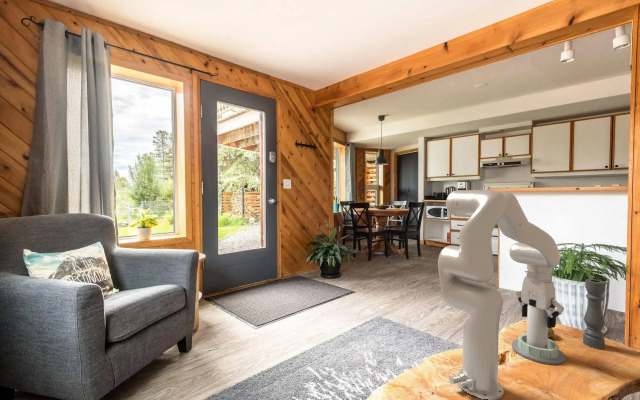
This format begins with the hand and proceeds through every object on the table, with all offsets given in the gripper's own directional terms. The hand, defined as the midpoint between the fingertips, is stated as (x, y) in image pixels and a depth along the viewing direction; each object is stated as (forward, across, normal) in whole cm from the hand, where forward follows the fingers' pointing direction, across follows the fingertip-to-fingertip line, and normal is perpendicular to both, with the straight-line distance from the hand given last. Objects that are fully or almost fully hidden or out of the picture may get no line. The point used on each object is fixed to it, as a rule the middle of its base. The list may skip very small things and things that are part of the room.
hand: (537, 321), depth 112 cm
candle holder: (+12, +2, +26) cm, 29 cm away
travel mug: (+11, 0, 0) cm, 11 cm away
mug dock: (+12, 0, 0) cm, 12 cm away
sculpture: (+12, -10, +15) cm, 22 cm away
